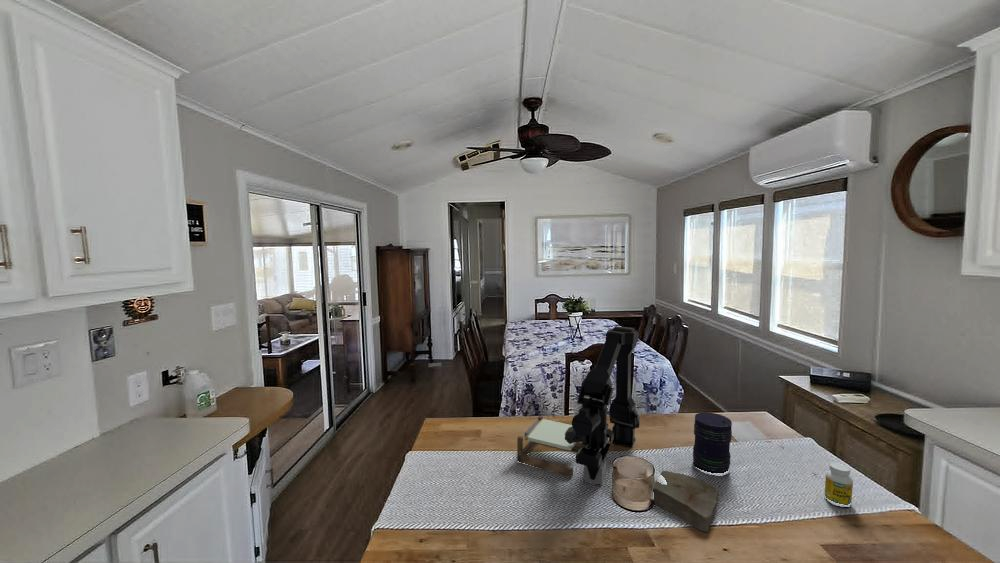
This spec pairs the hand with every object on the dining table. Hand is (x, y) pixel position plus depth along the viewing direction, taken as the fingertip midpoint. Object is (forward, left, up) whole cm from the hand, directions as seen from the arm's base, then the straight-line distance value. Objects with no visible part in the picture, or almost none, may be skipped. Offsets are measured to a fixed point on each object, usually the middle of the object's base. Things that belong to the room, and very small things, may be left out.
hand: (595, 474), depth 114 cm
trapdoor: (+15, -6, +6) cm, 17 cm away
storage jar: (-29, -22, -2) cm, 36 cm away
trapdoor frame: (+15, -6, -1) cm, 16 cm away
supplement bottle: (-58, -19, -2) cm, 61 cm away
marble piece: (-23, 0, -2) cm, 23 cm away
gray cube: (0, 0, -1) cm, 1 cm away
